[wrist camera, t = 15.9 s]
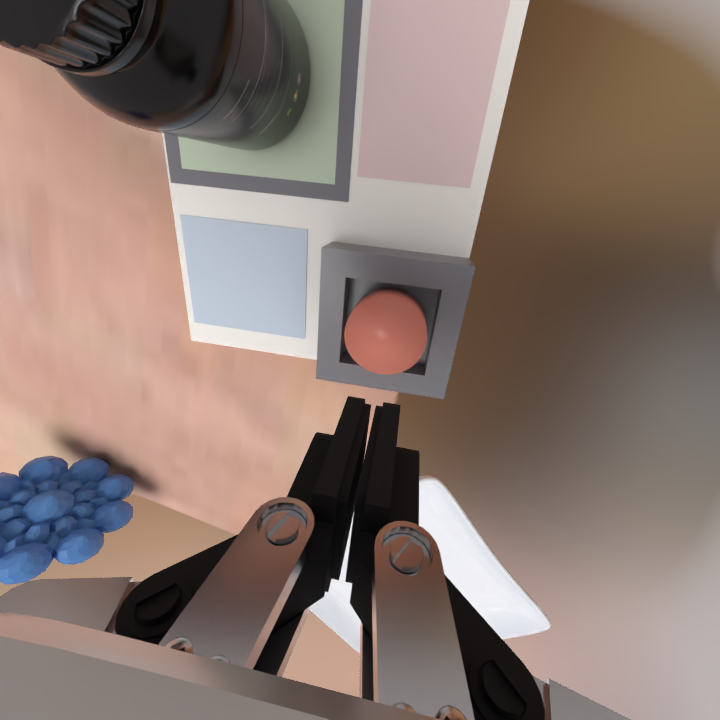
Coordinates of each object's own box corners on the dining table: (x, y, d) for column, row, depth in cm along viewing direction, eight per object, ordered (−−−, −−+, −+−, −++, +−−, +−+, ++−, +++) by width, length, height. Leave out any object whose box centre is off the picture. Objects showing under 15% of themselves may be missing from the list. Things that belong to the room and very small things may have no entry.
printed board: (154, -60, 17) (129, -84, 15) (534, -47, 15) (546, -72, 13) (203, 332, 26) (190, 341, 25) (439, 369, 24) (441, 380, 23)
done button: (354, 282, 19) (347, 292, 17) (432, 293, 19) (434, 303, 17) (348, 353, 21) (341, 368, 19) (419, 364, 21) (419, 380, 19)
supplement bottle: (174, 117, 18) (-160, 14, 8) (199, -52, 15) (-303, -610, 5) (290, 177, 19) (122, 156, 8) (337, 24, 16) (163, -333, 5)
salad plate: (371, 632, 41) (368, 667, 38) (255, 521, 36) (240, 552, 32) (546, 594, 33) (558, 634, 30) (432, 443, 28) (434, 474, 25)
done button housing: (332, 241, 20) (321, 247, 18) (469, 258, 19) (476, 266, 17) (325, 361, 24) (316, 378, 21) (441, 379, 23) (443, 399, 21)
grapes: (45, 458, 36) (-113, 571, 25) (53, 417, 33) (-123, 524, 22) (146, 512, 37) (36, 640, 26) (163, 476, 34) (46, 605, 23)
